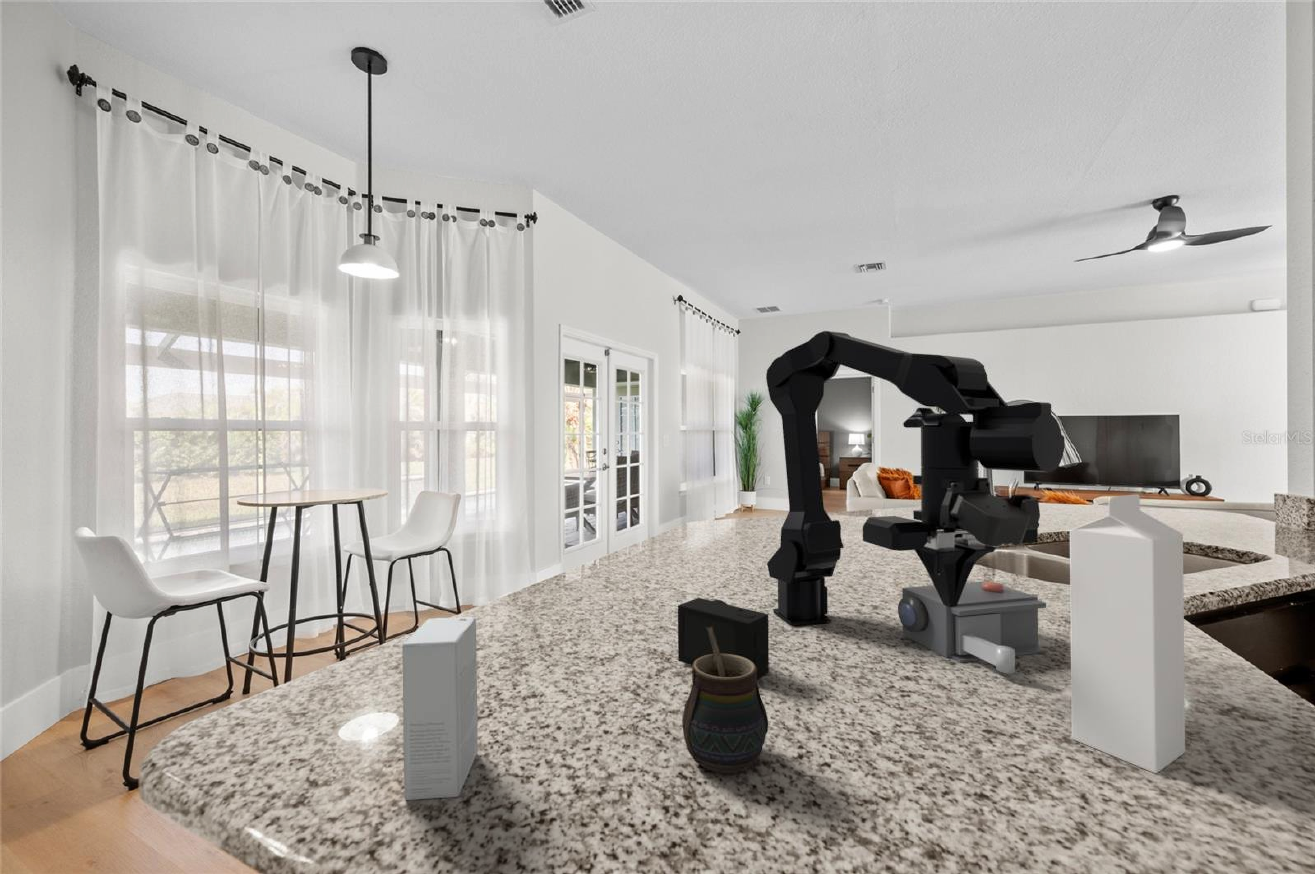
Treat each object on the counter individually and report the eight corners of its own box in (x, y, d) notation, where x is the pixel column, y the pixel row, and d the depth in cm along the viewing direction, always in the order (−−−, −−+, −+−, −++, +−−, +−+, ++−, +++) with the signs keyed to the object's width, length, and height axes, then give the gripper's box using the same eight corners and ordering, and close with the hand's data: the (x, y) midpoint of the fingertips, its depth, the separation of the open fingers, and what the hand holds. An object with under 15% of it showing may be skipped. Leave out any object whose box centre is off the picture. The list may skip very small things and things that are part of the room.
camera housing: (945, 664, 65) (944, 603, 65) (892, 636, 74) (892, 582, 74) (1049, 651, 68) (1049, 594, 68) (987, 626, 78) (986, 575, 78)
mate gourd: (707, 795, 41) (706, 664, 41) (666, 744, 48) (665, 632, 48) (785, 772, 44) (783, 649, 44) (735, 727, 51) (735, 621, 51)
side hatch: (1005, 677, 60) (1004, 635, 60) (955, 653, 66) (955, 615, 67) (1048, 671, 61) (1048, 631, 61) (996, 648, 68) (995, 611, 68)
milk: (1185, 754, 46) (1186, 497, 46) (1156, 775, 43) (1156, 501, 43) (1100, 721, 52) (1100, 490, 52) (1068, 738, 49) (1069, 494, 49)
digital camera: (775, 670, 64) (774, 611, 64) (750, 686, 60) (750, 622, 60) (704, 648, 71) (704, 594, 71) (678, 661, 66) (677, 604, 67)
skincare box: (428, 756, 47) (427, 617, 47) (478, 753, 47) (478, 615, 47) (400, 803, 41) (400, 643, 41) (459, 799, 41) (458, 641, 41)
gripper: (929, 474, 51) (930, 640, 51) (1086, 470, 55) (1087, 623, 55) (859, 467, 62) (860, 604, 62) (994, 465, 66) (995, 592, 66)
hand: (949, 606), depth 61 cm, fingers closed
